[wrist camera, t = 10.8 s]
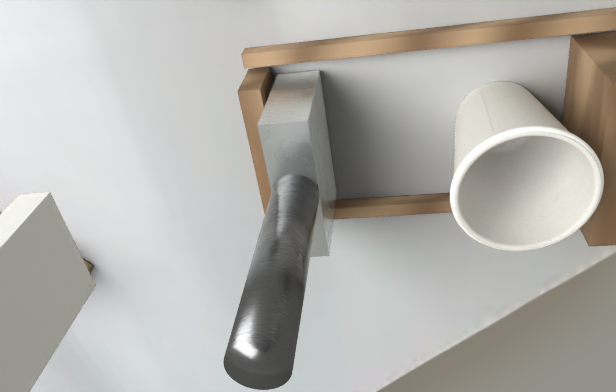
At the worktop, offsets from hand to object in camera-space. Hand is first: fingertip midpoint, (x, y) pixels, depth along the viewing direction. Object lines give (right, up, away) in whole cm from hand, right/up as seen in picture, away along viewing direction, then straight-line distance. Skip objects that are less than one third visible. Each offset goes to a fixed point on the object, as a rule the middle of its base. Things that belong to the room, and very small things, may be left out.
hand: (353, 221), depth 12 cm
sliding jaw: (-1, +5, +31) cm, 32 cm away
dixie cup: (+12, +6, +29) cm, 32 cm away
